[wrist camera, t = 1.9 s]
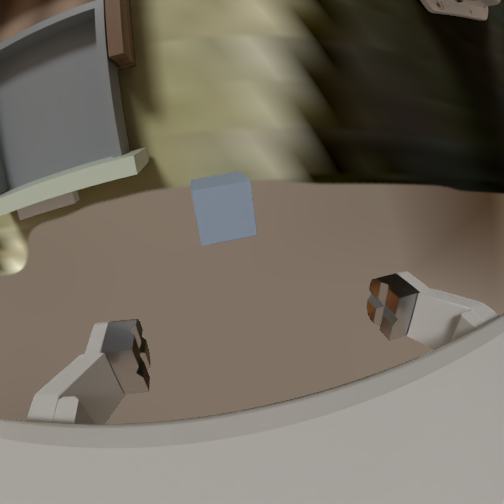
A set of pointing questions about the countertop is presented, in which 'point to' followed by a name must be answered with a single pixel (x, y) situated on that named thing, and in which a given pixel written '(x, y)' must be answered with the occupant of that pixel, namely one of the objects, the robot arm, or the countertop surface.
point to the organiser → (53, 3)
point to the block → (223, 207)
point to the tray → (61, 113)
